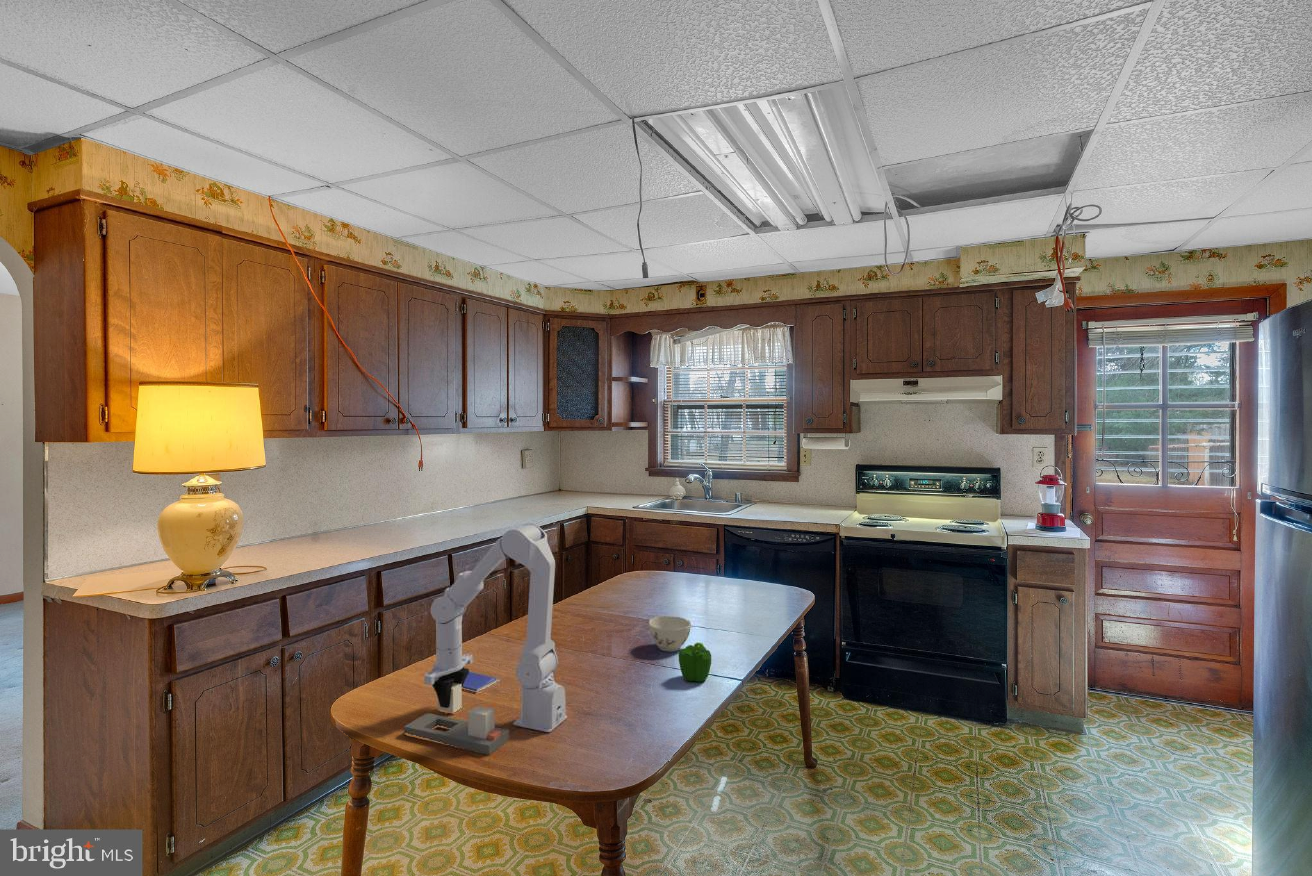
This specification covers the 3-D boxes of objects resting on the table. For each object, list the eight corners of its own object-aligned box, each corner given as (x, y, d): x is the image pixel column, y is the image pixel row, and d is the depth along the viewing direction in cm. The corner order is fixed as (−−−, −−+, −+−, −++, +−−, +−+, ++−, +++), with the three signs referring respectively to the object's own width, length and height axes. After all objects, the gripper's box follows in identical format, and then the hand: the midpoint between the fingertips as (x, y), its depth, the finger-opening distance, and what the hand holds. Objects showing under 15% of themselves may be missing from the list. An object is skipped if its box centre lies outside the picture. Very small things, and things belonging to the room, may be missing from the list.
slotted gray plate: (509, 739, 140) (509, 707, 140) (489, 755, 134) (488, 721, 133) (427, 721, 148) (426, 691, 148) (404, 735, 142) (403, 703, 142)
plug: (461, 709, 155) (461, 684, 154) (453, 714, 152) (453, 689, 152) (446, 706, 156) (446, 681, 156) (438, 711, 153) (437, 686, 153)
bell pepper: (674, 675, 175) (674, 638, 174) (702, 671, 178) (702, 634, 177) (686, 687, 167) (686, 648, 167) (716, 682, 170) (716, 644, 170)
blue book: (499, 677, 171) (464, 669, 177) (476, 689, 164) (440, 679, 170) (499, 683, 171) (464, 675, 177) (476, 695, 164) (440, 686, 170)
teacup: (676, 659, 186) (676, 631, 186) (640, 650, 193) (640, 623, 193) (702, 644, 199) (702, 617, 199) (668, 636, 206) (668, 611, 206)
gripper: (455, 634, 162) (456, 689, 162) (413, 654, 148) (414, 713, 149) (479, 638, 159) (480, 693, 160) (438, 658, 146) (439, 719, 146)
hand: (449, 703), depth 154 cm, fingers closed on plug, 3 cm apart
